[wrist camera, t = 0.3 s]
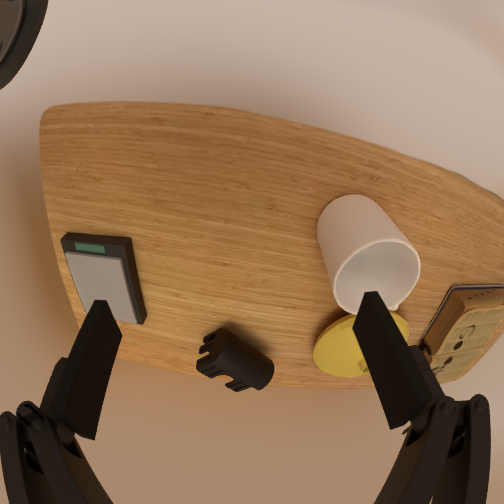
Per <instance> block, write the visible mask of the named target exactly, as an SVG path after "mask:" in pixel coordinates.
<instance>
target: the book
mask: <svg viewBox="0 0 504 504" xmlns="http://www.w3.org/2000/svg"><path fill="white" fill-rule="evenodd" d="M503 319H504V286H503V285H473V286H472V285H466V286H465V285H461V286H453V287H452V288H451V289H450V290H449V292H448V294H447V296H446V297H445V299H444V301H443V303H442V304H441V306H440V307H439V309H438V311H437V313H436V315H435V316H434V318H433V320H432V321H431V323H430V324H429V325H428V327H427V329H426V330H425V332H424V333H423V335H422V339H423V342H424V343H425V344H426V345H427V346H426V347H425V348H424V349H423V350H422V352H423V353H424V355H425V357H426V359H427V362H428V363H429V364H430V366H431V369H432V370H433V372H434V374H435V376H436V378H437V380H438V382H439V384H441V383H445V382H450V381H455V380H457V379H459V378H460V377H461V376H462V374H463V373H464V371H465V370H466V369H467V368H468V367H469V365H471V364H472V363H473V362H475V361H476V360H477V359H478V358H479V357H480V356H481V355H482V354H483V352H484V346H485V345H487V344H488V343H489V341H490V339H491V337H492V335H493V333H494V332H495V330H496V329H497V328H498V327H499V325H500V324H501V322H502V320H503Z"/></svg>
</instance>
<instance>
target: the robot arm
mask: <svg viewBox="0 0 504 504" xmlns="http://www.w3.org/2000/svg"><path fill="white" fill-rule="evenodd" d="M25 14H26V0H0V66H1V65H2V64H3V63H4V61H5V60H6V59H7V57H8V56H9V54H10V52H11V51H12V49H13V47H14V45H15V43H16V41H17V39H18V36H19V34H20V32H21V29H22V26H23V23H24V19H25ZM352 330H353V332H354V334H355V337H356V339H357V342H358V344H359V346H360V349H361V351H362V354H363V356H364V359H365V361H366V364H367V367H368V369H369V372H370V374H371V377H372V380H373V382H374V385H375V388H376V390H377V393H378V396H379V399H380V401H381V404H382V407H383V410H384V412H385V415H386V418H387V421H388V424H389V427H390V430H391V429H394V428H397V427H400V426H403V425H405V424H406V423H407V422H408V421H409V420H410V422H411V425H410V426H409V427H408V428H407V429H405V430H404V431H403V433H402V434H405V433H406V432H407V435H406V437H405V440H404V442H403V445H402V448H401V450H400V452H399V454H398V457H397V459H396V461H395V464H394V466H393V468H392V470H391V472H390V474H389V476H388V478H387V480H386V482H385V484H384V486H383V488H382V490H381V492H380V493H379V495H378V497H377V499H376V501H375V502H374V504H429V503H430V501H431V499H432V503H431V504H486V498H487V491H488V483H489V471H490V455H491V454H490V452H491V429H490V410H489V403H488V400H487V399H486V397H484V396H483V395H481V394H477V395H475V396H473V397H472V398H471V399H470V400H467V401H455V400H454V399H453V398H451V397H449V396H446V395H445V394H444V393H443V391H442V389H441V387H440V384H439V382H438V380H437V378H436V376H435V374H434V372H433V370H432V369H431V366H430V364H429V363H428V362H427V359H426V357H425V355H424V353H423V352H422V351H421V350H420V349H419V348H418V347H417V346H416V345H413V346H408V344H407V343H406V341H405V339H404V337H403V335H402V333H401V331H400V330H399V328H398V326H397V324H396V322H395V321H394V319H393V317H392V315H391V314H390V312H389V310H388V308H387V307H386V305H385V303H384V301H383V300H382V298H381V296H380V295H379V293H378V291H370V292H364V295H363V298H362V301H361V304H360V307H359V310H358V313H357V316H356V318H355V321H354V324H353V326H352ZM121 338H122V334H121V331H120V329H119V327H118V325H117V323H116V320H115V318H114V316H113V314H112V311H111V309H110V307H109V304H108V302H107V300H94V302H93V304H92V306H91V308H90V310H89V312H88V314H87V316H86V318H85V320H84V322H83V324H82V327H81V329H80V331H79V333H78V335H77V338H76V340H75V342H74V345H73V347H72V349H71V352H70V354H69V357H68V358H64V357H62V358H61V359H60V360H59V361H58V362H57V364H56V365H55V367H54V370H53V372H52V376H51V377H50V380H49V383H48V385H47V388H46V391H45V394H44V396H43V399H42V402H41V405H40V408H38V407H37V406H36V405H35V404H33V403H32V402H31V401H24V402H22V403H21V404H20V405H19V407H18V408H17V411H16V416H15V415H13V414H12V413H11V412H9V411H6V412H3V413H2V414H1V415H0V456H1V463H2V470H3V476H4V481H5V486H6V491H7V496H8V500H9V504H113V502H112V501H111V499H110V498H109V497H108V495H107V493H106V492H105V490H104V489H103V487H102V486H101V484H100V482H99V481H98V479H97V477H96V476H95V474H94V472H93V471H92V469H91V467H90V465H89V463H88V462H87V460H86V458H85V456H84V454H83V452H82V450H81V448H80V446H79V444H78V442H77V440H76V438H75V437H74V435H75V433H77V434H78V435H79V436H81V437H84V438H87V439H91V440H95V436H96V432H97V427H98V422H99V418H100V413H101V409H102V405H103V401H104V397H105V393H106V389H107V385H108V382H109V378H110V375H111V371H112V368H113V364H114V361H115V358H116V354H117V351H118V348H119V345H120V342H121ZM24 448H25V450H24ZM432 496H433V498H432Z"/></svg>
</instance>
